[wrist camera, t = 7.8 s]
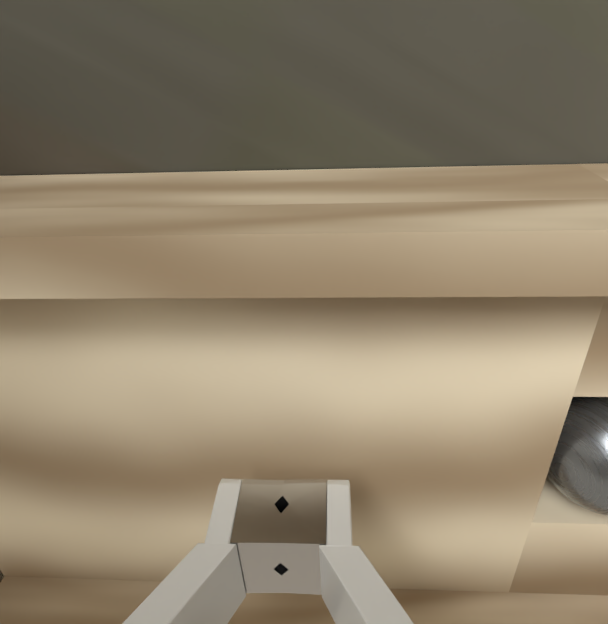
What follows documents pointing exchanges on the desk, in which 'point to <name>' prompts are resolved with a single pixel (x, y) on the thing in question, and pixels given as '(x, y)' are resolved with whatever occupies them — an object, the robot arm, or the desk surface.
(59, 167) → the desk surface
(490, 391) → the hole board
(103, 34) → the desk surface
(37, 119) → the desk surface
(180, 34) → the desk surface
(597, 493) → the steel ball
